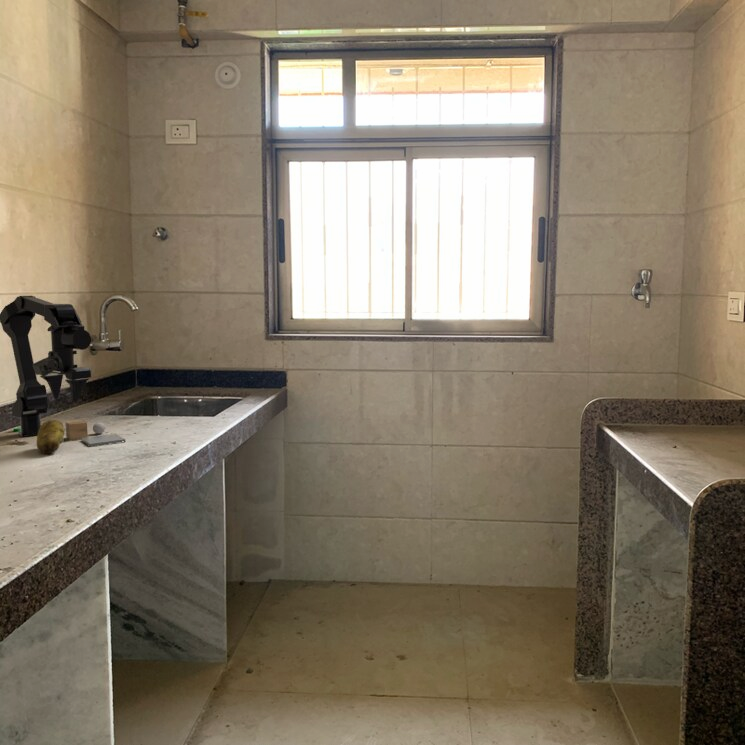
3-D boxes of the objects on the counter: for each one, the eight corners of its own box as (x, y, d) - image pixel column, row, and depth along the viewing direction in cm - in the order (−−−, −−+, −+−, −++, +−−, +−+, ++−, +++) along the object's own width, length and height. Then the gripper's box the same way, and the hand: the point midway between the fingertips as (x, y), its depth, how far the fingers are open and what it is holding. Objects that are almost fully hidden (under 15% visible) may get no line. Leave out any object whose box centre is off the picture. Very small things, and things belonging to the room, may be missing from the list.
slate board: (81, 440, 212) (81, 438, 212) (115, 436, 218) (115, 433, 218) (90, 446, 204) (89, 444, 204) (125, 441, 210) (125, 439, 210)
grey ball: (91, 433, 222) (90, 422, 222) (103, 432, 225) (102, 420, 224) (94, 435, 220) (94, 424, 219) (106, 434, 222) (106, 422, 221)
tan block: (66, 438, 217) (65, 421, 216) (83, 435, 220) (82, 419, 219) (70, 440, 213) (69, 424, 212) (87, 438, 216) (86, 422, 215)
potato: (25, 456, 194) (22, 427, 193) (45, 445, 207) (44, 418, 206) (55, 455, 194) (53, 426, 193) (74, 445, 207) (73, 417, 206)
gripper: (18, 347, 206) (21, 401, 208) (55, 352, 196) (58, 408, 198) (53, 344, 215) (56, 395, 217) (91, 348, 205) (94, 402, 207)
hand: (65, 400), depth 210 cm, fingers open, 9 cm apart
